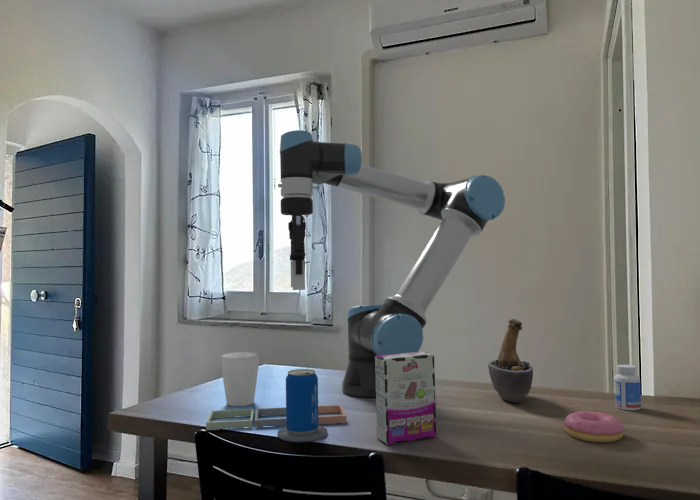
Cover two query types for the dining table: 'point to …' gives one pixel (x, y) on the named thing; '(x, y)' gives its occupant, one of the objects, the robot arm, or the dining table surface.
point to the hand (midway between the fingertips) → (297, 288)
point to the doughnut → (594, 426)
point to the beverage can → (301, 401)
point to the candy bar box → (405, 397)
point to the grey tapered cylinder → (240, 377)
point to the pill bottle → (627, 388)
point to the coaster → (314, 436)
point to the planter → (511, 368)
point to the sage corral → (229, 424)
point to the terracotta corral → (331, 419)
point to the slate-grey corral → (270, 421)
